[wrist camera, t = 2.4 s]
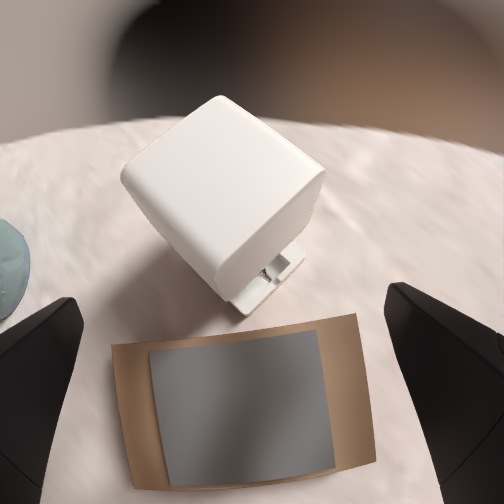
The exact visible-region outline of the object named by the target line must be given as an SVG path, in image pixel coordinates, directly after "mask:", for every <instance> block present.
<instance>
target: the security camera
mask: <svg viewBox="0 0 504 504" xmlns="http://www.w3.org/2000/svg"><path fill="white" fill-rule="evenodd" d="M325 173H326V170H325V169H324V168H323V167H321V166H320V165H319V164H318V163H316V162H315V161H314V160H313V159H311V158H310V157H309V156H307V155H306V154H305V153H304V152H302V151H301V150H300V149H298V148H297V147H296V146H294V145H293V144H292V143H290V142H289V141H288V140H286V139H285V138H284V137H282V136H281V135H280V134H278V133H277V132H275V131H274V130H273V129H271V128H270V127H268V126H267V125H266V124H264V123H263V122H261V121H260V120H259V119H257V118H256V117H254V116H253V115H251V114H250V113H248V112H247V111H245V110H244V109H242V108H241V107H240V106H238V105H237V104H235V103H234V102H232V101H231V100H229V99H228V98H226V97H224V96H216V97H214V98H213V99H211V100H210V101H208V102H207V103H205V104H204V105H202V106H201V107H200V108H198V109H197V110H195V111H194V112H192V113H191V114H190V115H188V116H187V117H185V118H184V119H183V120H181V121H180V122H179V123H177V124H176V125H174V126H173V127H172V128H170V129H169V130H168V131H167V132H165V133H164V134H163V135H161V136H160V137H159V138H157V139H156V140H155V141H154V142H152V143H151V144H150V145H149V146H147V147H146V148H145V149H144V150H142V151H141V152H140V153H139V154H137V155H136V156H135V157H134V158H133V159H131V160H130V161H129V162H128V163H127V164H126V165H125V167H124V168H123V170H122V172H121V177H120V180H121V182H122V184H123V185H124V187H125V188H126V190H127V191H128V192H129V194H130V195H131V197H132V198H133V199H134V201H135V202H136V204H137V205H138V206H139V208H140V209H141V211H142V212H143V213H144V215H145V216H146V217H147V219H148V220H149V222H150V223H151V224H152V226H153V227H154V228H155V229H156V230H157V231H158V232H159V233H160V234H161V235H162V236H163V237H164V239H165V240H166V241H167V242H168V243H169V244H170V245H171V246H172V247H173V248H174V249H175V250H176V251H177V252H178V253H179V255H180V256H181V257H182V258H183V259H184V260H185V261H186V262H187V263H188V264H189V265H190V266H191V267H192V268H193V269H194V270H195V271H196V272H197V273H198V274H199V275H200V277H201V278H202V279H203V280H204V281H205V282H206V283H207V284H208V285H209V286H210V287H211V288H212V289H213V290H214V291H215V292H216V293H217V294H218V295H219V296H220V297H221V298H222V299H223V300H224V301H225V302H228V301H229V302H230V303H231V304H232V305H233V306H234V307H235V308H236V309H237V310H238V311H239V312H240V313H241V314H242V315H243V316H245V317H248V316H250V315H251V314H252V313H253V312H254V311H255V310H256V309H257V308H258V307H259V306H260V305H261V304H262V303H263V302H264V301H265V300H266V299H267V298H268V297H269V296H270V295H271V294H272V293H273V292H274V291H275V290H276V289H277V288H278V287H279V286H280V285H281V284H282V283H283V282H284V281H285V280H286V279H287V278H288V277H289V276H290V275H291V274H292V273H293V272H294V271H295V270H296V269H297V268H298V267H299V266H300V265H301V264H302V262H303V261H304V258H305V256H306V252H305V251H304V250H303V249H302V248H301V247H300V246H299V245H298V244H297V243H295V242H294V241H293V240H294V239H295V238H296V237H297V236H298V235H299V234H300V233H301V231H302V230H303V229H304V228H305V227H306V225H307V224H308V222H309V220H310V217H311V214H312V212H313V209H314V206H315V203H316V200H317V197H318V194H319V191H320V188H321V186H322V183H323V180H324V177H325ZM263 269H265V270H266V275H267V276H268V277H269V278H270V279H271V281H270V282H266V281H265V280H264V279H263V278H259V277H257V275H258V274H259V273H260V272H261V271H262V270H263Z"/></svg>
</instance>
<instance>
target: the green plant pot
mask: <svg viewBox="0 0 504 504" xmlns="http://www.w3.org/2000/svg"><path fill="white" fill-rule="evenodd" d="M29 273H30V254H29V248H28V246H27V243H26V241H25V239H24V236H23V235H22V234H21V233H20V232H19V231H18V230H17V229H15V228H14V227H13V226H12V225H11V224H9V223H8V222H7V221H6V220H4V219H0V320H2V319H4V318H6V317H7V316H9V315H10V314H11V313H12V312H13V311H14V310H15V309H16V307H17V306H18V304H19V303H20V301H21V299H22V297H23V295H24V293H25V290H26V287H27V284H28V279H29Z"/></svg>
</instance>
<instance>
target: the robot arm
mask: <svg viewBox="0 0 504 504" xmlns="http://www.w3.org/2000/svg"><path fill="white" fill-rule="evenodd" d="M384 316H385V319H386V323H387V326H388V330H389V333H390V337H391V340H392V344H393V348H394V351H395V355H396V358H397V361H398V364H399V367H400V369H401V372H402V374H403V377H404V380H405V382H406V385H407V387H408V390H409V393H410V396H411V398H412V401H413V404H414V407H415V410H416V412H417V415H418V418H419V421H420V424H421V427H422V430H423V433H424V436H425V439H426V442H427V445H428V449H429V452H430V455H431V458H432V461H433V465H434V468H435V472H436V475H437V479H438V482H439V485H440V490H441V494H442V498H443V501H444V504H504V336H503V335H502V334H500V333H496V331H494V330H492V329H491V328H489V327H487V326H485V325H483V324H482V323H480V322H478V321H476V320H474V319H472V318H471V317H469V316H467V315H465V314H463V313H461V312H460V311H458V310H456V309H454V308H452V307H450V306H448V305H446V304H445V303H443V302H441V301H439V300H437V299H435V298H433V297H431V296H429V295H427V294H425V293H424V292H422V291H420V290H418V289H416V288H414V287H412V286H410V285H408V284H406V283H404V282H397V283H391V284H390V285H389V287H388V290H387V295H386V300H385V305H384ZM83 328H84V321H83V318H82V315H81V313H80V310H79V307H78V305H77V302H76V300H75V299H74V298H72V297H62V298H60V299H58V300H56V301H55V302H53V303H51V304H49V305H48V306H46V307H44V308H43V309H41V310H39V311H37V312H36V313H34V314H32V315H31V316H29V317H27V318H26V319H24V320H22V321H21V322H19V323H17V324H16V325H14V326H12V327H11V328H9V329H8V330H6V331H4V332H3V333H1V334H0V504H40V499H41V494H42V487H43V482H44V477H45V472H46V467H47V463H48V458H49V454H50V450H51V446H52V442H53V438H54V434H55V430H56V426H57V422H58V419H59V415H60V412H61V408H62V405H63V401H64V398H65V395H66V392H67V388H68V385H69V382H70V379H71V376H72V372H73V369H74V365H75V361H76V357H77V352H78V348H79V344H80V340H81V336H82V332H83Z"/></svg>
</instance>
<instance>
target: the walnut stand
mask: <svg viewBox="0 0 504 504" xmlns="http://www.w3.org/2000/svg"><path fill="white" fill-rule="evenodd" d="M111 347H112V358H113V368H114V377H115V385H116V393H117V400H118V407H119V413H120V420H121V426H122V431H123V437H124V442H125V447H126V452H127V457H128V462H129V466H130V471H131V475H132V480H133V484H134V488H135V489H144V490H170V491H192V490H219V489H234V488H245V487H255V486H263V485H271V484H278V483H284V482H291V481H296V480H302V479H307V478H312V477H317V476H322V475H327V474H331V473H335V472H339V471H343V470H347V469H351V468H355V467H359V466H362V465H366V464H369V463H373V462H376V451H375V441H374V431H373V422H372V413H371V405H370V397H369V390H368V383H367V376H366V369H365V363H364V357H363V350H362V344H361V339H360V333H359V327H358V322H357V317H356V313H354V314H349V315H344V316H339V317H333V318H328V319H322V320H317V321H311V322H305V323H299V324H293V325H287V326H281V327H274V328H267V329H261V330H254V331H246V332H239V333H231V334H223V335H215V336H207V337H198V338H189V339H179V340H168V341H157V342H145V343H132V344H117V345H111Z"/></svg>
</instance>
